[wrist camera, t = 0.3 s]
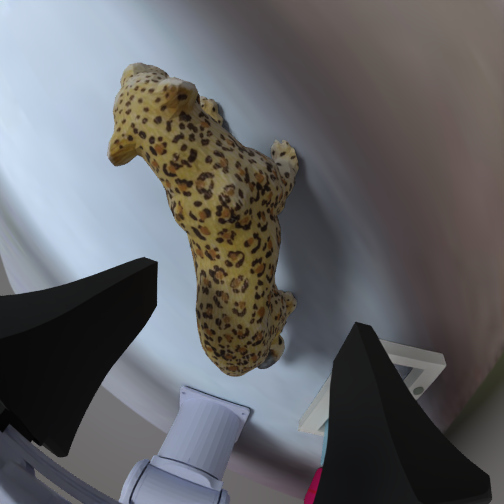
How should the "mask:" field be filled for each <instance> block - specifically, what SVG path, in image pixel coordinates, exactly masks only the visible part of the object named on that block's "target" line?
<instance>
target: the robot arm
mask: <svg viewBox="0 0 504 504" xmlns="http://www.w3.org/2000/svg"><path fill="white" fill-rule="evenodd" d="M157 271H158V262H157V261H154V260H151V259H148V258H145V257H142V258H139V259H135V260H133V261H130V262H127V263H124V264H122V265H119V266H116V267H114V268H111V269H108V270H106V271H103V272H100V273H98V274H95V275H92V276H89V277H86V278H83V279H80V280H77V281H74V282H71V283H68V284H65V285H61V286H57V287H53V288H49V289H45V290H40V291H34V292H28V293H22V294H16V295H6V296H0V504H72V503H71V502H69V501H68V500H66V499H65V498H64V497H63V496H61V495H59V494H58V493H57V492H55V491H54V490H53V489H51V488H50V487H48V486H47V485H46V484H44V483H43V482H41V481H40V480H39V479H37V478H36V476H35V471H34V468H35V469H36V470H37V471H38V472H40V473H41V474H42V475H44V476H45V477H46V478H47V479H49V480H50V481H52V482H53V483H54V484H56V485H57V486H59V487H60V488H61V489H62V490H64V491H66V492H67V493H68V494H70V495H71V496H73V497H74V498H76V499H77V500H79V501H80V502H82V503H84V504H229V503H230V496H229V494H228V492H227V490H224V489H222V486H223V483H224V482H222V478H223V475H224V472H225V469H226V466H227V464H228V461H229V458H230V455H231V452H232V449H233V446H234V443H235V442H237V440H238V438H239V436H240V433H241V431H242V429H243V427H244V424H245V422H246V420H247V418H248V415H249V413H250V409H249V408H246V407H243V406H240V405H237V404H233V403H230V402H227V401H224V400H221V399H218V398H215V397H213V396H210V395H207V394H204V393H201V392H199V391H196V390H193V389H191V388H188V387H186V386H182V387H181V389H180V411H179V413H178V415H177V417H176V419H175V421H174V423H173V425H172V427H171V429H170V431H169V433H168V435H167V437H166V439H165V441H164V443H163V445H162V447H161V449H160V450H159V452H158V455H157V456H156V455H154V456H153V458H152V460H151V461H150V460H148V459H144V460H141V461H138V462H137V463H136V464H135V466H134V467H133V468H132V470H131V472H130V473H129V475H128V477H127V480H126V481H125V484H124V486H123V489H122V492H121V497H120V499H119V501H116V500H115V499H113V498H110V497H109V496H107V495H105V494H104V493H102V492H100V491H98V490H97V489H95V488H93V487H92V486H90V485H88V484H87V483H85V482H84V481H82V480H80V479H79V478H77V477H76V476H74V475H73V474H71V473H70V472H68V471H67V470H65V469H64V468H63V467H61V466H60V465H58V464H57V463H56V462H54V461H53V460H52V459H50V458H49V457H48V456H46V455H45V454H44V453H43V452H41V451H40V450H39V449H38V448H36V447H35V446H34V445H33V444H32V443H31V441H32V440H33V441H34V442H35V443H36V444H38V445H39V446H42V445H43V446H44V447H45V448H47V449H48V450H49V451H51V452H52V453H53V454H55V455H56V456H57V457H66V456H67V455H68V453H69V450H70V447H71V444H72V441H73V439H74V436H75V434H76V432H77V429H78V427H79V425H80V423H81V421H82V418H83V416H84V414H85V412H86V410H87V408H88V406H89V404H90V403H91V401H92V399H93V397H94V395H95V393H96V392H97V390H98V388H99V386H100V385H101V383H102V381H103V380H104V378H105V376H106V375H107V373H108V372H109V371H110V369H111V368H112V366H113V365H114V364H115V363H116V361H117V360H118V359H119V357H120V356H121V355H122V354H123V353H124V351H125V350H126V349H127V348H128V346H129V345H130V344H131V343H132V341H133V340H134V339H135V338H136V336H137V335H138V334H139V333H140V331H141V330H142V329H143V328H144V326H145V325H146V323H147V321H148V320H149V318H150V317H151V315H152V313H153V311H154V310H155V308H156V306H157ZM33 467H34V468H33ZM491 500H492V494H491V484H490V477H489V475H488V474H487V473H485V472H484V471H483V470H481V469H480V468H479V467H478V466H476V465H475V464H474V463H472V462H471V461H470V460H469V459H467V458H466V457H465V456H464V455H463V454H462V453H461V452H460V451H459V450H458V449H457V448H456V447H455V446H454V445H452V443H450V441H449V440H448V439H447V438H446V437H445V436H444V435H443V434H442V433H441V431H440V430H439V429H438V428H437V427H436V426H435V425H434V423H433V422H432V421H431V420H430V419H429V417H428V416H427V415H426V413H425V412H424V411H423V409H422V408H421V407H420V405H419V404H418V403H417V401H416V400H415V398H414V397H413V395H412V394H411V392H410V391H409V389H408V388H407V386H406V384H405V383H404V381H403V380H402V378H401V376H400V375H399V373H398V371H397V370H396V368H395V366H394V365H393V363H392V361H391V359H390V358H389V356H388V354H387V352H386V351H385V349H384V347H383V345H382V343H381V342H380V340H379V338H378V336H377V335H376V333H375V331H374V330H373V328H372V327H371V326H369V325H366V324H362V323H358V322H355V324H354V325H353V327H352V329H351V331H350V333H349V335H348V337H347V338H346V340H345V342H344V344H343V346H342V347H341V349H340V351H339V353H338V354H337V356H336V358H335V360H334V362H333V368H332V375H331V382H330V396H329V420H328V439H327V447H326V453H325V458H324V463H323V468H322V472H321V476H320V480H319V484H318V488H317V492H316V495H315V498H314V502H313V504H489V503H490V502H491Z"/></svg>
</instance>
